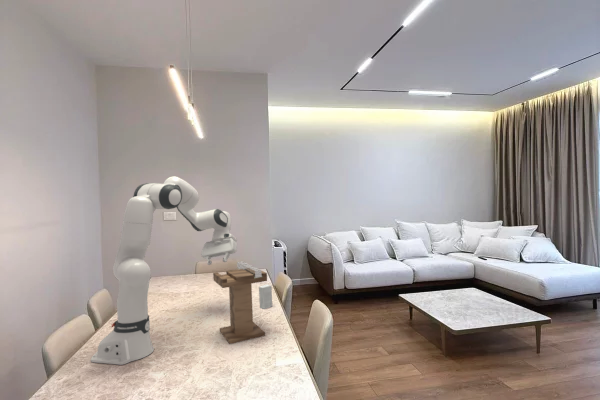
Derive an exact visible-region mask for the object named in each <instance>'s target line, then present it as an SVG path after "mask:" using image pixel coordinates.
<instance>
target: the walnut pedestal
mask: <svg viewBox="0 0 600 400" xmlns="http://www.w3.org/2000/svg"><path fill="white" fill-rule="evenodd" d="M261 273H262V277H257V278H255V277H254V275H253V274H251V273H249V272H247V271H245V270H244V269H238V268H237V269H232V270H226V273H225V274H221V273H219V272H217V271H216V272H213V274H212V275H213V276H212V277H213V281H214V282H215V283H216V284H217V285H219V286H220V287H221V288H222V289H226V288H228V294H229V317H230V318H229V320H230V322H229V323H230V325H228V326H224V327H219V332H220V334H221V335H222V336H223V338H224V339H225V341H227V342H228V344H229V345H232V344H236V343H240V342H244V341H248V340H252V339H256V338H262V337H264V336H266V333H265V331H264V330H263V329H262V328H261V327H259V325H258V324H256V323H255V322H254V317H253V316H254V315H253V291H252V290H253V289H252V286H253V285H252V284H257V283H262V282H268V273H267V272H265V271H263V270H261Z"/></svg>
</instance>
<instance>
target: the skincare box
mask: <svg viewBox="0 0 600 400" xmlns="http://www.w3.org/2000/svg"><path fill="white" fill-rule="evenodd" d="M272 291H273V290H272V284H271V285H270V284H264V285H261V286H258V296H259V299H258V300H259V308H260V309H262V310H267V309H269V308H272V307H273V292H272Z"/></svg>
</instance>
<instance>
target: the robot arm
mask: <svg viewBox="0 0 600 400" xmlns="http://www.w3.org/2000/svg"><path fill="white" fill-rule="evenodd" d="M199 199H200V194H199V192H198V190H197V189H196V188H195V187H194V186H193V185H192V184H190V183H189V182H188V181H186V180H185V179H182V178H180V177H179V176H175V175H173V176H170V177H168V178H166V179H165V180H164V182H163V183H161V182H160V183H159V182H153V183H152V182H151V183H147V182H146V183H143V184H140V185H138V186H137V187H136V188H135V190H134V192H133V195H132V197H131V198H130V199H129V200H128V201H127V203H126V206H125V210H124V214H123V218H122V225H121V231H120V233H121V234H120V238H119V239H120V240H119V243H118V247H117V250H116V254H115V258H114V263H113V266H112V272H113V273H112V274H113V276H114V277H115V278H116V280H118V295H117V300H116V308H117V311H116V313H117V314H116V315H117V320H114V322H113V323H111V327H110V328H113V330H112V331H110V332H109V333H108V334H107V335H106V336H105V337H104V338H102V339H101V341H99V344H98V346H97V351H96V352H95V353H94V354H93V355H92V356H91V358H90V362H91V363H98V364H108V365H109V364H110V365H121V366H122V365H125V364H129V363H130V362H133V361H137V360H140V359H143V358H145V357H148V356H149V355H151V354H152V353H153V352H154V349H155V348H154V345H153V344H152V340H151V339H152V338H151V333H150V327H151V326H150V325H151V323H150V316H149V307H148V294H149V288H150V279H151V276H152V270H151V268H150V265H149V264H148V263H147V262H146V261H145V257H146V253H147V250H148V248H149V245H150V243H151V237H152V229H153V223H154V222H153V220H154V212H155V211H156V210H172V209H176V210H177V211H178V212H179V213H180V214H181V215H182V216H183V218H185V219H186V220H187V221H188V222H189V223H190V225H191V228H193V229H194V230H195V231H196V232H202V231H206V230H211V229H214V231H213V233H212V239H211V241H206V243H204V244H203V247H202V250H201V253H200V255H201V257H202V258H203V259H206V260H207V262H206V264H207V265H208V266H210V265H212V263H213V262H212V261H211V260H212V258H216V257H217V258H218V257H222V256H224V257H222V262H223V263H226V262H228V258H230V255H231V254H232V255H233V254H235V253H236V252H237V251H238V250H237V249H238V243H237V241H238V239H237V238H236V236H235V235H234V234H232V233H230V231H231V227H232V216H231V214H230V213H229V212H228V211H225V210H221V209H220V208H215V209H211V210H205V211H201V212H196V211H195V210H194V208H196V207H197V205H198V203H199Z"/></svg>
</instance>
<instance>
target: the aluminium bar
mask: <svg viewBox="0 0 600 400" xmlns="http://www.w3.org/2000/svg"><path fill="white" fill-rule="evenodd" d="M236 266H237V270H238V269H244V270H245V271H247V272H249V273H251V274H253V275H254V277H255V278H257V277H262V273H261V271H262V269H260V268H258V267H256V266H254V265H251V264H249V263H247V262H245V261H243V260H242V261H237V262H236Z"/></svg>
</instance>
